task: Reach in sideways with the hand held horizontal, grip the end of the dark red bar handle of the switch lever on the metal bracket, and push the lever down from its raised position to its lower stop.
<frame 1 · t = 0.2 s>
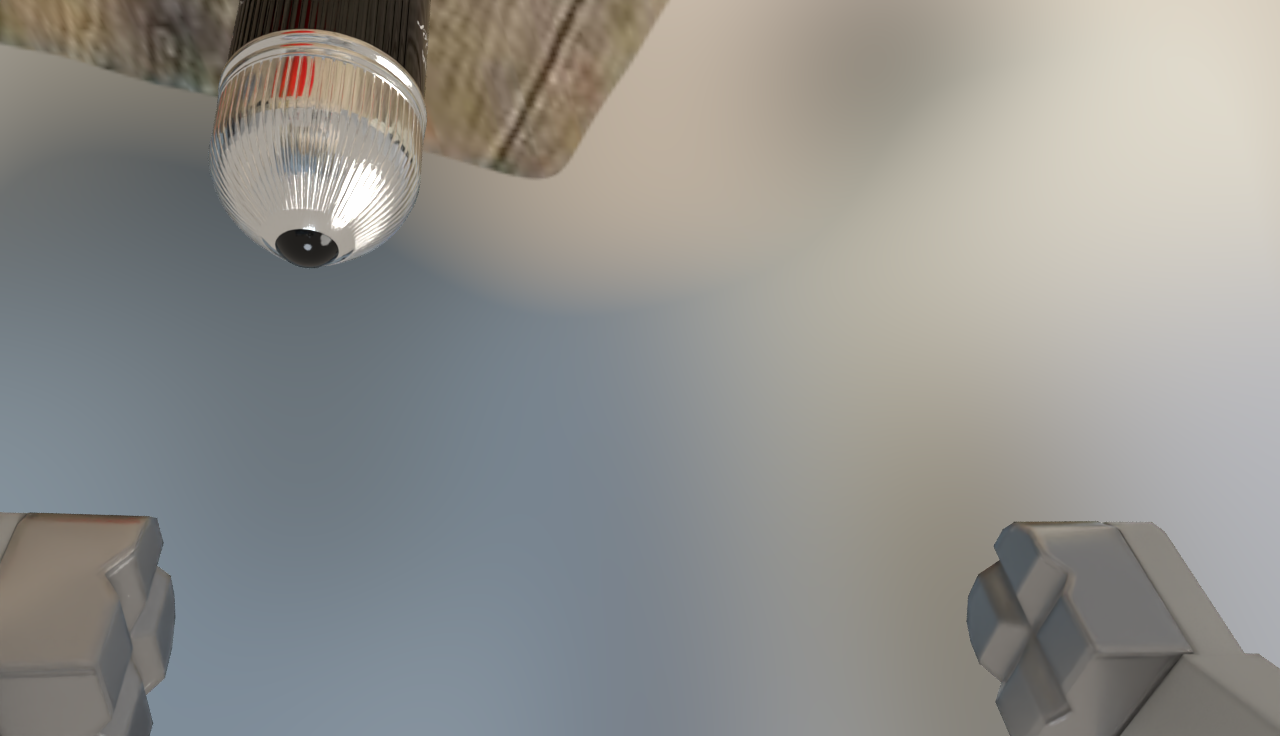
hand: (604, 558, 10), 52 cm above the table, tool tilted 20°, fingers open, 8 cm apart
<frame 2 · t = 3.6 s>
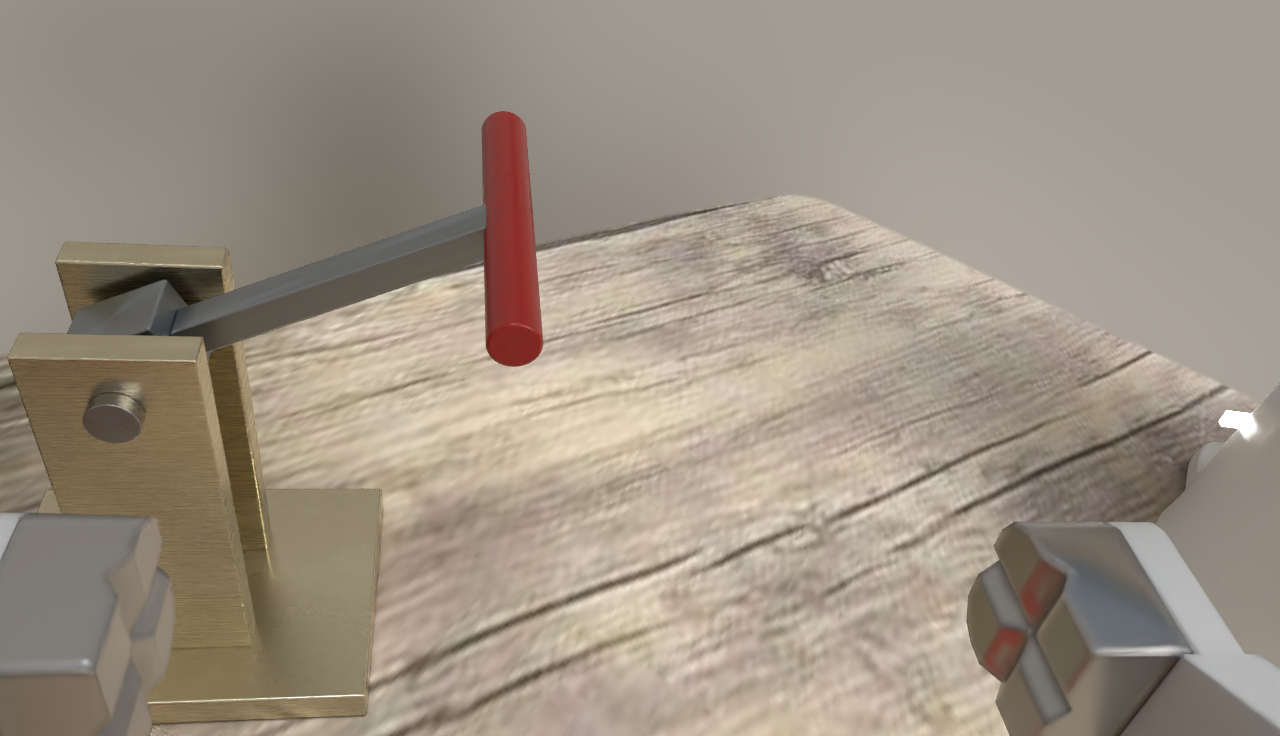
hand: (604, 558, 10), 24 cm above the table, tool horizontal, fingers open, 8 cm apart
bracket: (200, 606, 37), on the table
lever: (307, 292, 29), point 14 cm above the table, hinge at 25.0°
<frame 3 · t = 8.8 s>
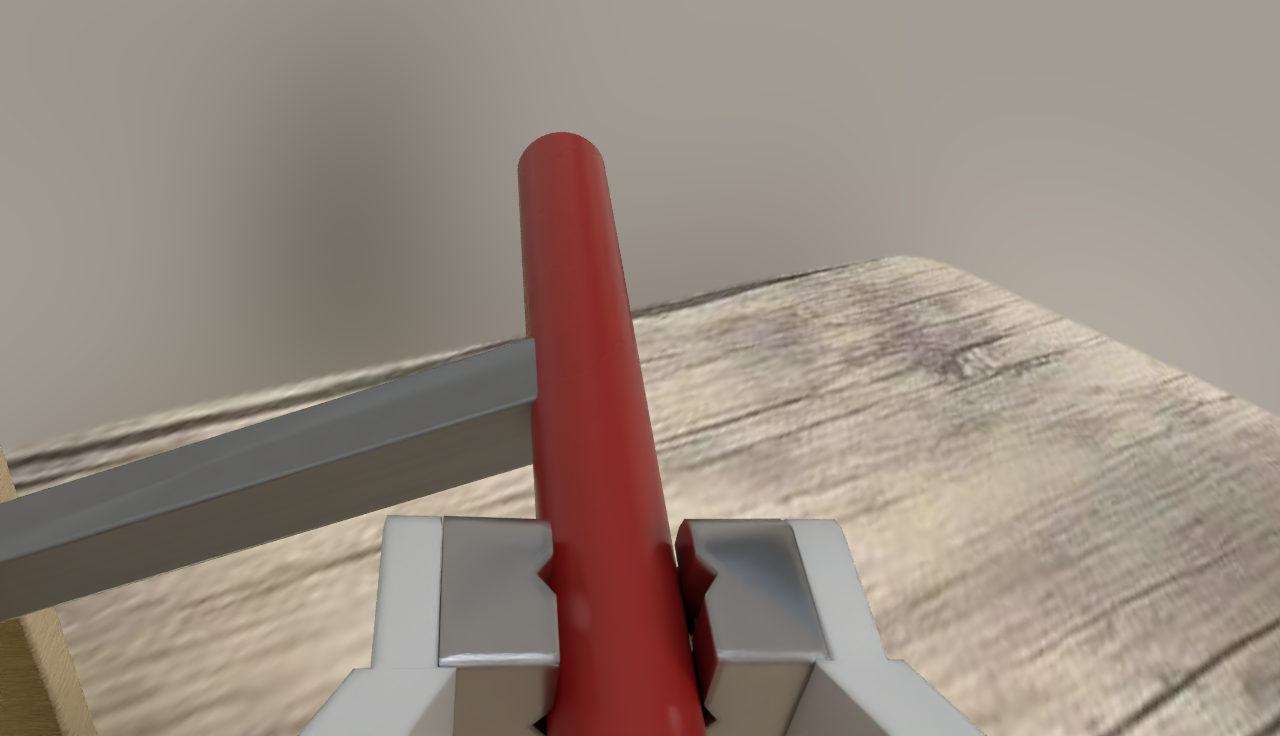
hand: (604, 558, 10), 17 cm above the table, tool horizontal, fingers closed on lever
lever: (130, 523, 13), point 14 cm above the table, hinge at 24.9°, touching gripper
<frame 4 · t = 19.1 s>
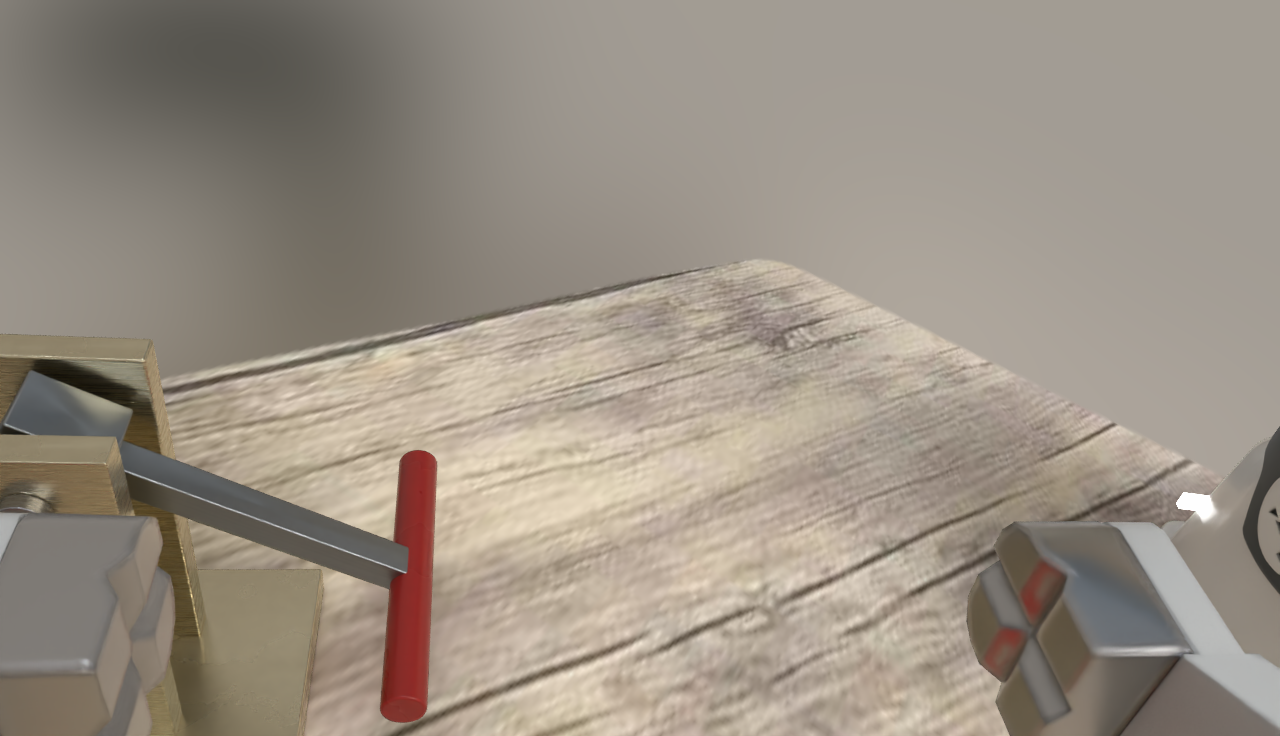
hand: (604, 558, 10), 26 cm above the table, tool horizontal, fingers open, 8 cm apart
bracket: (128, 694, 36), on the table
lever: (236, 509, 31), point 9 cm above the table, hinge at -30.2°
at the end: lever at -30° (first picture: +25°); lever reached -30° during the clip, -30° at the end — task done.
